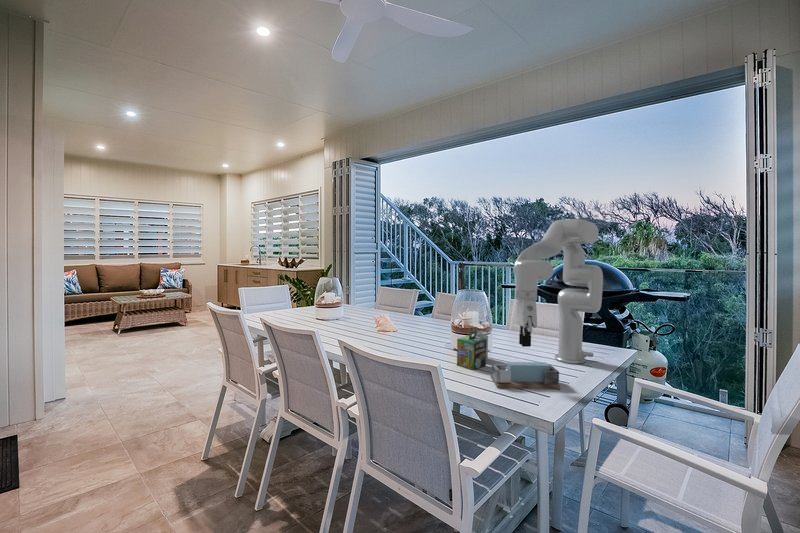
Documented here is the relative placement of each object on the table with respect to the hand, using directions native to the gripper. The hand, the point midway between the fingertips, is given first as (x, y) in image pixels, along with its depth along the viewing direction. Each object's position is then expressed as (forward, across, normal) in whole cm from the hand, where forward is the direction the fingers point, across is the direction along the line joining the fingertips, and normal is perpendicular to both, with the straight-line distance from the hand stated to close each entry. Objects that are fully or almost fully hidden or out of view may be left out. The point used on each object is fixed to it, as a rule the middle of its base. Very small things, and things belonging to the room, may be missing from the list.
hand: (524, 345), depth 145 cm
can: (+14, +31, +11) cm, 36 cm away
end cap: (+13, 0, +9) cm, 15 cm away
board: (+14, 0, 0) cm, 14 cm away
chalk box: (+14, +21, +16) cm, 30 cm away
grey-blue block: (+13, 0, -1) cm, 13 cm away
